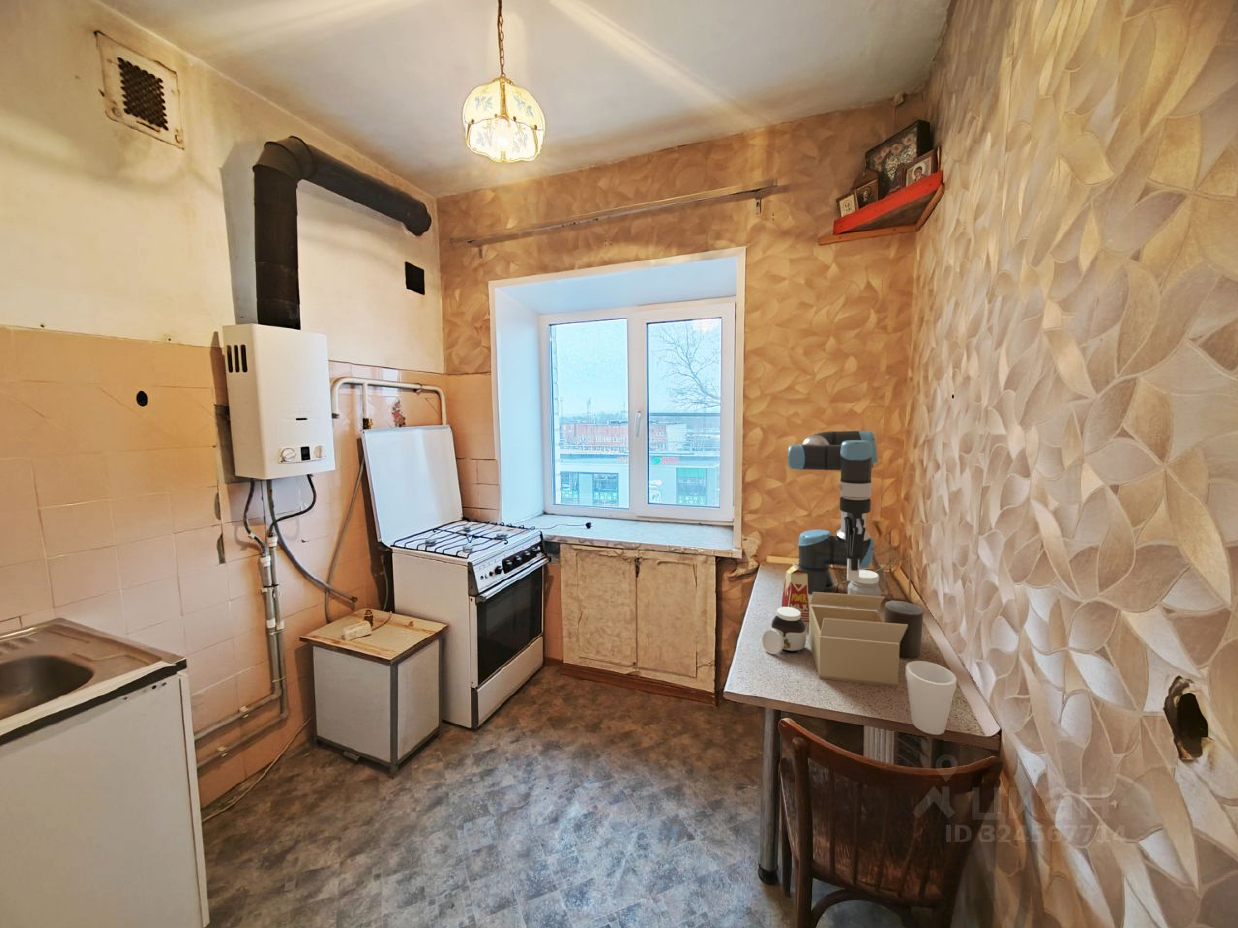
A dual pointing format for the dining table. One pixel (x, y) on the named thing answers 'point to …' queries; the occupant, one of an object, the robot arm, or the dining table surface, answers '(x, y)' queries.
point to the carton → (852, 650)
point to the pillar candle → (913, 634)
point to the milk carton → (796, 592)
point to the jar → (865, 586)
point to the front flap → (863, 630)
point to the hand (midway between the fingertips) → (852, 580)
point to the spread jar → (785, 632)
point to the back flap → (846, 600)
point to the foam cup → (930, 695)
